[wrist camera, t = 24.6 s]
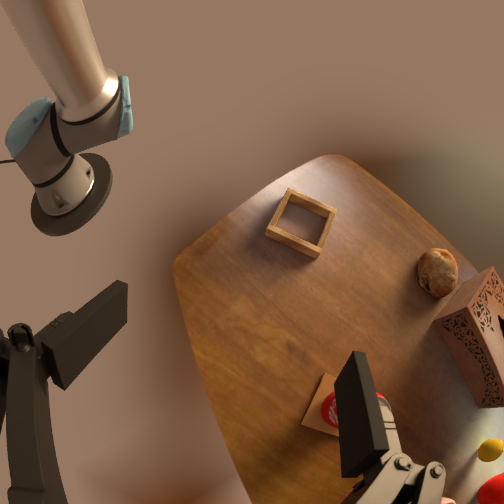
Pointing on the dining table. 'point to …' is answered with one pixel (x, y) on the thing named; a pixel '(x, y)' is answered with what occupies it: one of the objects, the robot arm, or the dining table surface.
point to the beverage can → (331, 413)
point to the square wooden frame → (293, 240)
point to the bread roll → (437, 272)
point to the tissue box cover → (478, 335)
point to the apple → (492, 491)
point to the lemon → (490, 450)
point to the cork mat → (314, 410)
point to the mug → (447, 501)
